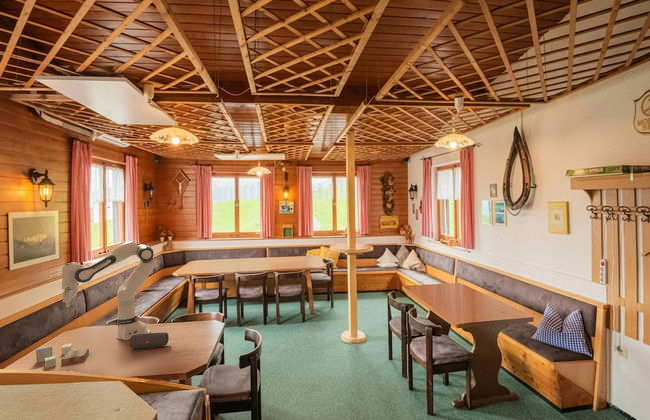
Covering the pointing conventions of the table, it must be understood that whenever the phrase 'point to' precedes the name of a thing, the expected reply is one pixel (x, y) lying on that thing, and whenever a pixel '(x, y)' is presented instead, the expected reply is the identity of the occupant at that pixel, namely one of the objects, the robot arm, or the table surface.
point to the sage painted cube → (50, 361)
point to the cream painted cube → (67, 348)
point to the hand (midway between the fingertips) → (70, 305)
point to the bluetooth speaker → (148, 340)
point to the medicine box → (43, 353)
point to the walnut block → (75, 356)
